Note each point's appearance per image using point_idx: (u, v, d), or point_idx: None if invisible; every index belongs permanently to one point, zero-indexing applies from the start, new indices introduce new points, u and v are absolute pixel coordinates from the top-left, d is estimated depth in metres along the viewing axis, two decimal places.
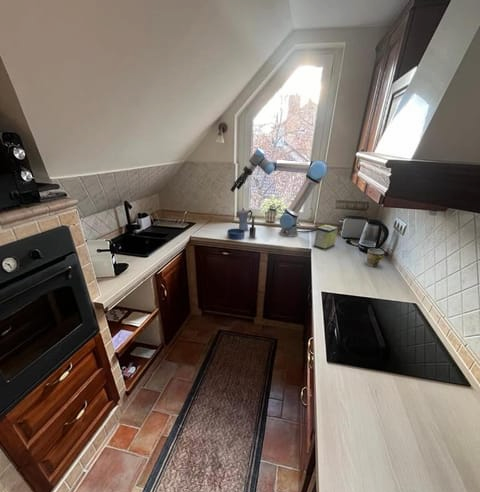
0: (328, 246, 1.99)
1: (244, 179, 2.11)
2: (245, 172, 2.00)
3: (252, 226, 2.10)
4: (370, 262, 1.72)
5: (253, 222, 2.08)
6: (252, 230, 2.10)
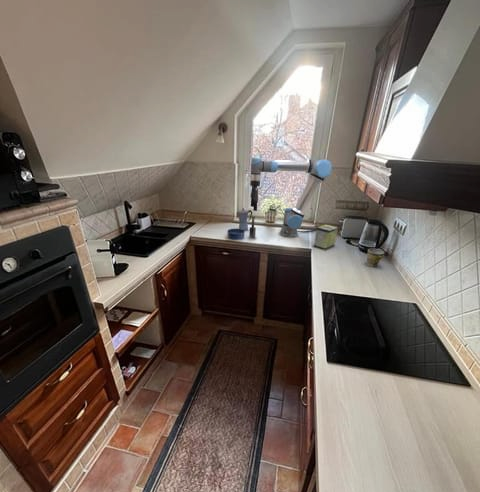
0: (328, 246, 1.99)
1: None
2: (255, 186, 1.92)
3: (252, 226, 2.10)
4: (370, 262, 1.72)
5: (253, 222, 2.08)
6: (252, 230, 2.10)
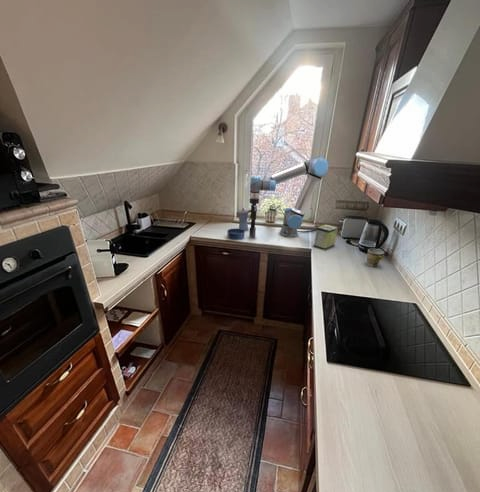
0: (328, 246, 1.99)
1: None
2: (255, 203, 1.98)
3: None
4: (370, 262, 1.72)
5: None
6: (252, 230, 2.10)
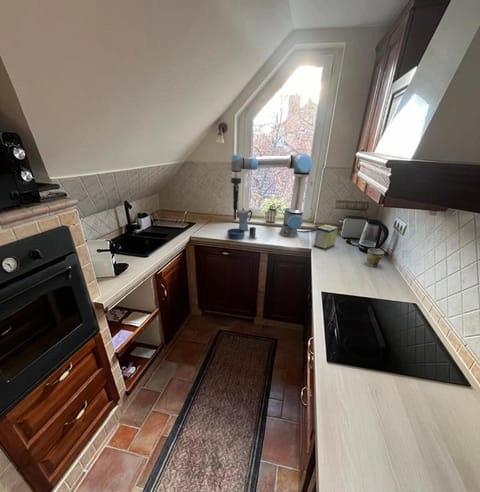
0: (328, 246, 1.99)
1: None
2: (236, 183, 1.90)
3: None
4: (370, 262, 1.72)
5: None
6: (252, 230, 2.10)
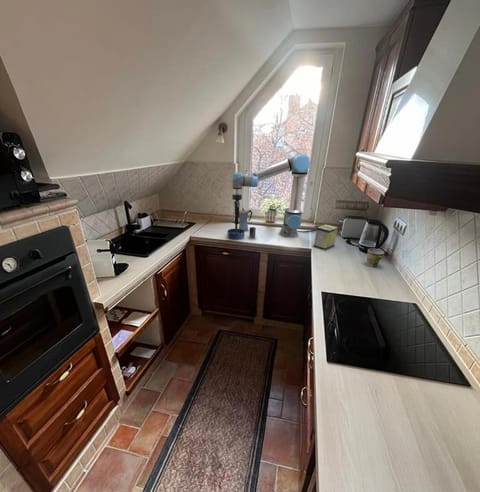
0: (328, 246, 1.99)
1: None
2: (237, 200, 1.98)
3: None
4: (370, 262, 1.72)
5: None
6: (252, 230, 2.10)
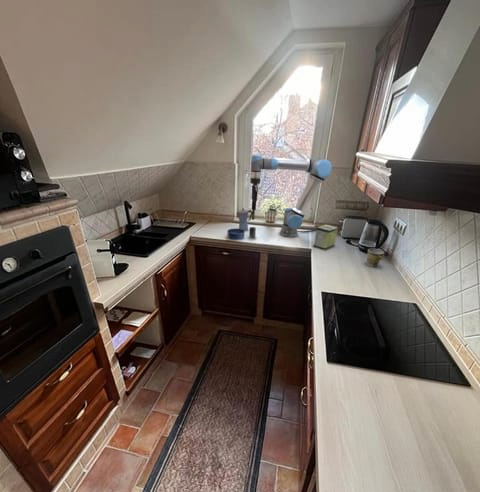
0: (328, 246, 1.99)
1: None
2: (256, 183, 1.91)
3: None
4: (370, 262, 1.72)
5: None
6: (252, 230, 2.10)
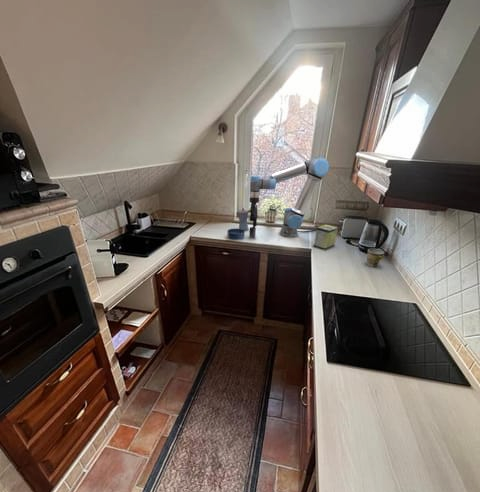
0: (328, 246, 1.99)
1: None
2: (255, 202, 1.98)
3: (253, 226, 2.10)
4: (370, 262, 1.72)
5: None
6: (252, 230, 2.10)
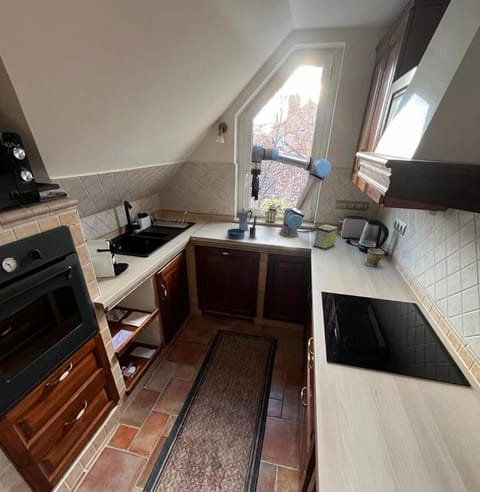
0: (328, 246, 1.99)
1: (255, 183, 1.98)
2: (256, 174, 1.88)
3: (253, 226, 2.10)
4: (370, 262, 1.72)
5: (255, 222, 2.09)
6: (252, 230, 2.10)
